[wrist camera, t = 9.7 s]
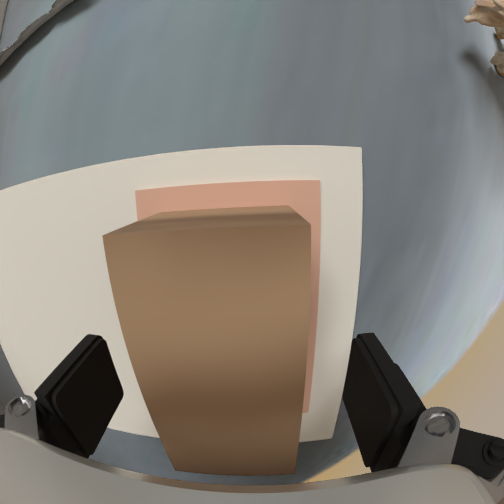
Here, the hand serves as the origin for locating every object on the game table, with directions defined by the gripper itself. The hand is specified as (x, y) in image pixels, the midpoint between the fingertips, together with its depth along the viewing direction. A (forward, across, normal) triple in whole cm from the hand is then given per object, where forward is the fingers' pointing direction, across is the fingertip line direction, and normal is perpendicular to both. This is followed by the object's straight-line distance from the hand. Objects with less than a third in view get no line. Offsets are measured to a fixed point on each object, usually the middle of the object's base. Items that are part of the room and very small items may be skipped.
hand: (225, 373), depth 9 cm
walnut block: (+4, 0, 0) cm, 4 cm away
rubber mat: (+4, +7, +1) cm, 8 cm away
